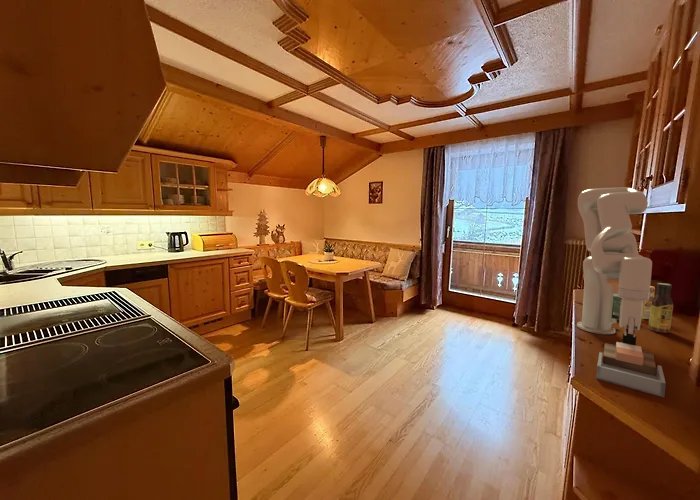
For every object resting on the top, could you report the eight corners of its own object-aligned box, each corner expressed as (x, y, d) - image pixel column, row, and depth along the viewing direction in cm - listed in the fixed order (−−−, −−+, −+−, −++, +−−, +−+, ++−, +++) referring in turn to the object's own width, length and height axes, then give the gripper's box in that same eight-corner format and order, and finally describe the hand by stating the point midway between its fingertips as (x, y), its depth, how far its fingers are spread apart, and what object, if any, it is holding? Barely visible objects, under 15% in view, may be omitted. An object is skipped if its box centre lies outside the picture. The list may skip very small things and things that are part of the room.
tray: (598, 363, 97) (599, 352, 97) (660, 378, 88) (661, 366, 87) (596, 378, 88) (597, 366, 88) (664, 397, 79) (665, 383, 78)
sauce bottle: (662, 334, 119) (667, 286, 117) (644, 328, 125) (648, 282, 123) (674, 332, 120) (679, 285, 118) (656, 327, 126) (660, 281, 124)
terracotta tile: (616, 354, 97) (616, 346, 97) (641, 359, 93) (642, 352, 93) (616, 359, 93) (616, 352, 93) (642, 365, 89) (643, 357, 89)
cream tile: (615, 348, 101) (616, 341, 101) (640, 353, 97) (640, 346, 97) (615, 353, 97) (616, 346, 97) (641, 359, 93) (642, 351, 93)
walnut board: (604, 350, 106) (604, 342, 105) (652, 361, 98) (652, 352, 97) (602, 364, 96) (603, 355, 96) (655, 377, 88) (656, 368, 88)
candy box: (652, 319, 135) (656, 287, 134) (642, 319, 136) (645, 286, 134) (637, 313, 144) (640, 282, 142) (627, 313, 145) (630, 282, 143)
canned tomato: (599, 314, 144) (601, 292, 142) (616, 314, 143) (618, 292, 142) (613, 320, 136) (615, 296, 134) (631, 320, 135) (633, 296, 134)
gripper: (618, 288, 106) (614, 337, 108) (617, 296, 95) (613, 351, 97) (647, 291, 101) (642, 342, 103) (651, 300, 90) (645, 358, 92)
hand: (628, 346), depth 100 cm, fingers closed
